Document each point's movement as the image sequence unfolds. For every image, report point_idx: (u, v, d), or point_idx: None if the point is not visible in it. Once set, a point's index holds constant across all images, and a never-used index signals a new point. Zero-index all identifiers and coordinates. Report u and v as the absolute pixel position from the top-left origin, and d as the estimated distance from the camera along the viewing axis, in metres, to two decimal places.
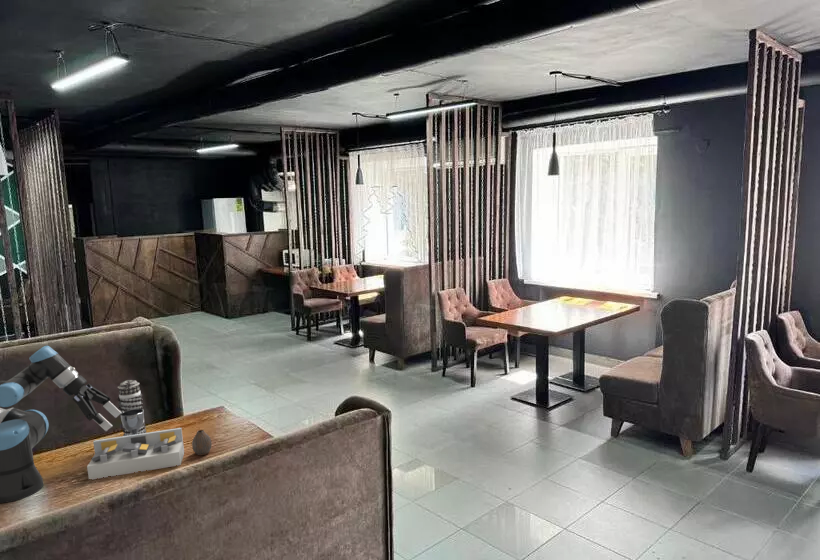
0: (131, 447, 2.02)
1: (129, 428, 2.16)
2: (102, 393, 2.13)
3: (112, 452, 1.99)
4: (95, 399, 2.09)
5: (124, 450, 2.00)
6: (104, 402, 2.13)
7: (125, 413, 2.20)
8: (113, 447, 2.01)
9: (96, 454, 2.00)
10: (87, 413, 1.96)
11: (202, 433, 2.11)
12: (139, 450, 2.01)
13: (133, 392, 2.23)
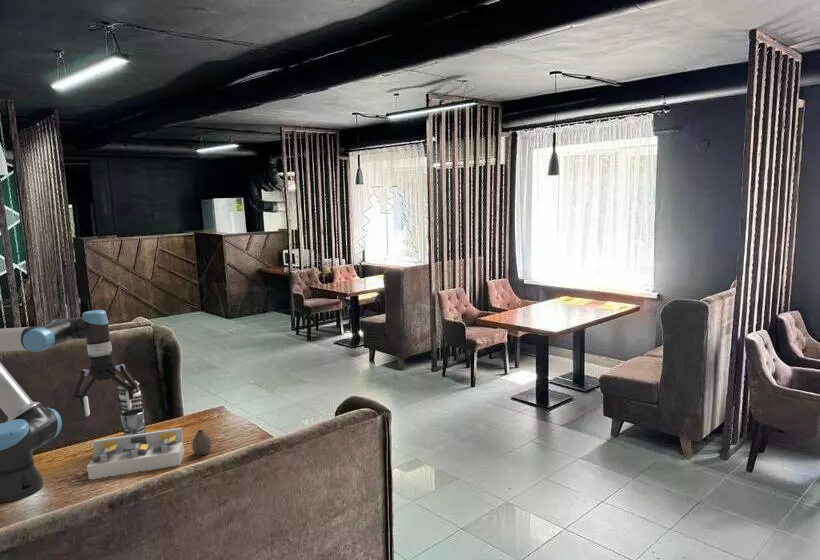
0: (131, 447, 2.02)
1: (129, 428, 2.16)
2: (130, 381, 2.00)
3: (112, 452, 1.99)
4: None
5: (124, 450, 2.00)
6: None
7: (125, 413, 2.20)
8: (113, 447, 2.01)
9: (96, 454, 2.00)
10: None
11: (202, 433, 2.11)
12: (139, 450, 2.01)
13: (133, 392, 2.23)
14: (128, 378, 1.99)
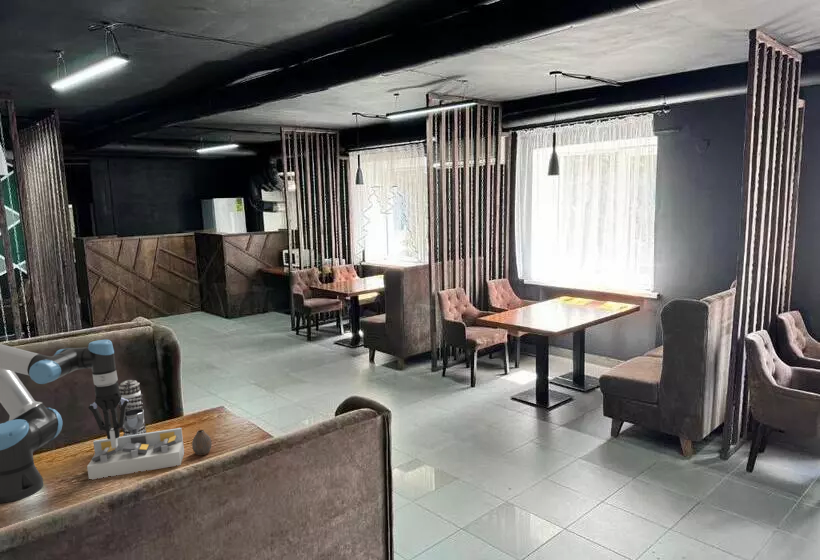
0: (131, 447, 2.02)
1: (129, 428, 2.16)
2: (121, 418, 2.00)
3: (112, 452, 1.99)
4: None
5: (124, 450, 2.00)
6: None
7: (125, 413, 2.20)
8: None
9: (96, 454, 2.00)
10: None
11: (202, 433, 2.11)
12: (139, 450, 2.01)
13: (133, 392, 2.23)
14: (122, 415, 2.00)
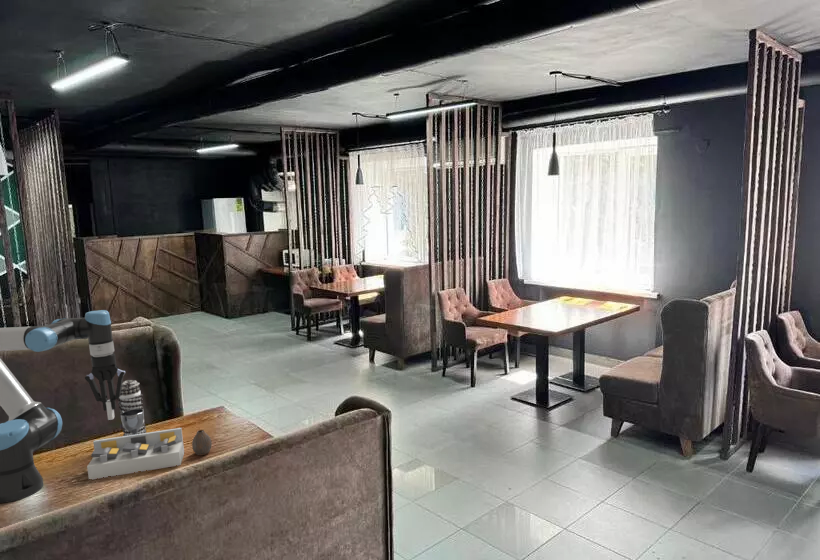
0: (131, 447, 2.02)
1: (129, 428, 2.16)
2: (118, 390, 1.98)
3: (113, 456, 1.99)
4: None
5: (124, 450, 2.00)
6: None
7: (125, 413, 2.20)
8: (115, 450, 2.01)
9: (96, 450, 2.00)
10: None
11: (202, 433, 2.11)
12: (139, 450, 2.01)
13: (133, 392, 2.23)
14: (119, 386, 1.98)
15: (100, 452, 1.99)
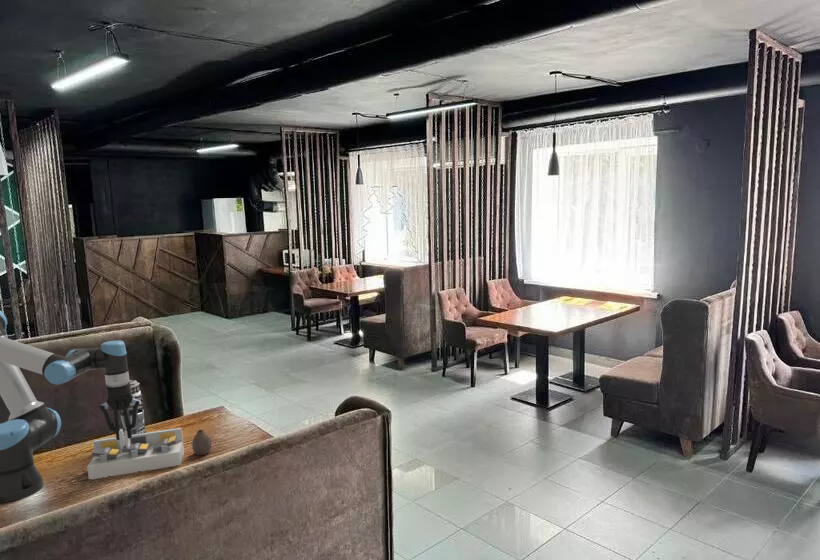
0: (131, 447, 2.02)
1: None
2: (134, 419, 2.01)
3: (112, 456, 1.99)
4: None
5: (124, 451, 2.00)
6: None
7: None
8: (115, 451, 2.01)
9: (97, 449, 2.00)
10: None
11: (202, 433, 2.11)
12: (139, 450, 2.01)
13: (133, 392, 2.23)
14: (134, 415, 2.01)
15: (100, 452, 1.99)
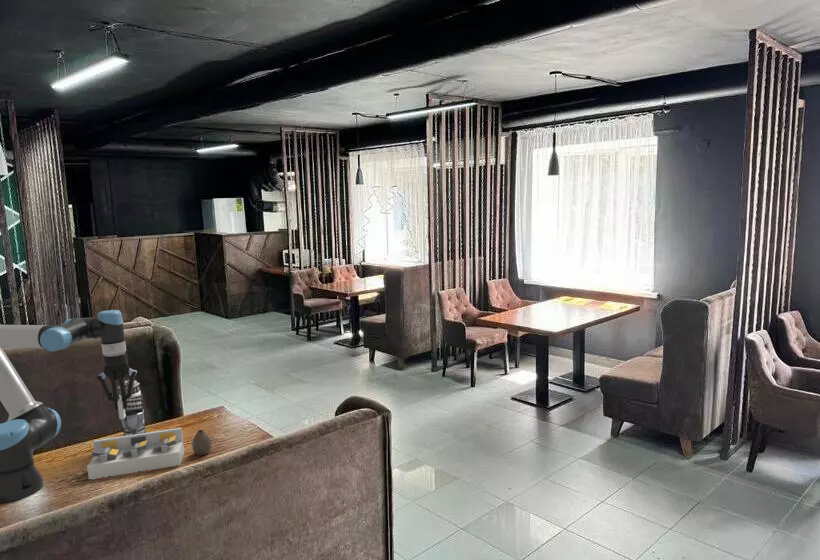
0: (130, 449, 2.02)
1: (129, 428, 2.16)
2: (129, 389, 1.99)
3: (112, 457, 1.99)
4: None
5: (125, 454, 2.00)
6: None
7: (125, 413, 2.20)
8: (115, 451, 2.01)
9: (97, 449, 2.00)
10: None
11: (202, 433, 2.11)
12: (138, 448, 2.01)
13: (133, 392, 2.23)
14: (130, 386, 1.99)
15: (100, 451, 1.99)
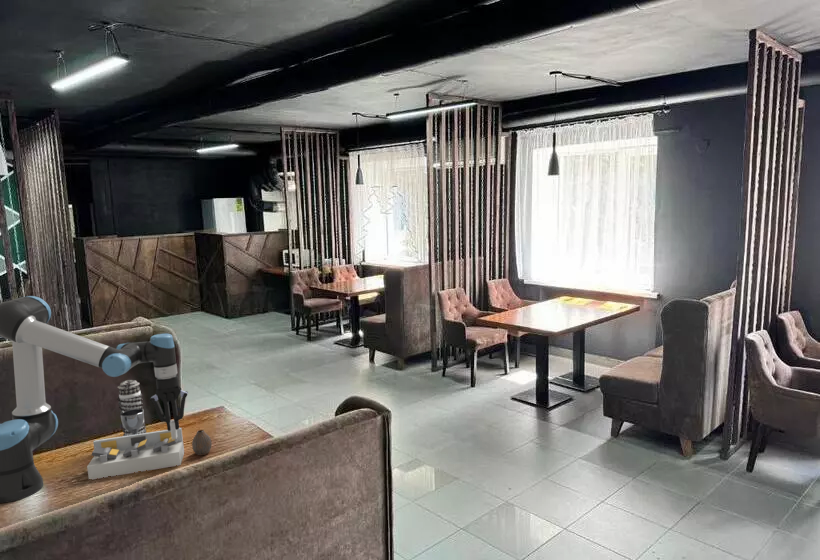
0: (130, 449, 2.02)
1: (129, 428, 2.16)
2: (181, 410, 2.05)
3: (112, 457, 1.99)
4: None
5: (125, 455, 2.00)
6: None
7: (125, 413, 2.20)
8: (115, 451, 2.01)
9: (97, 449, 2.00)
10: None
11: (202, 433, 2.11)
12: (138, 448, 2.01)
13: (133, 392, 2.23)
14: (182, 407, 2.05)
15: (100, 451, 1.99)
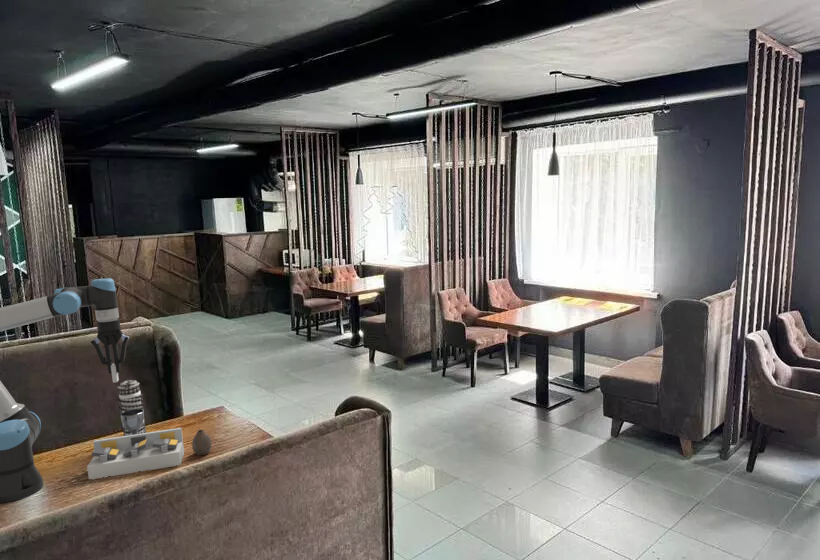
0: (130, 449, 2.02)
1: (129, 428, 2.16)
2: (122, 354, 2.09)
3: (112, 457, 1.99)
4: None
5: (125, 455, 2.00)
6: None
7: (125, 413, 2.20)
8: (115, 451, 2.01)
9: (97, 449, 2.00)
10: None
11: (202, 433, 2.11)
12: (138, 448, 2.01)
13: (133, 392, 2.23)
14: (123, 351, 2.09)
15: (100, 451, 1.99)
